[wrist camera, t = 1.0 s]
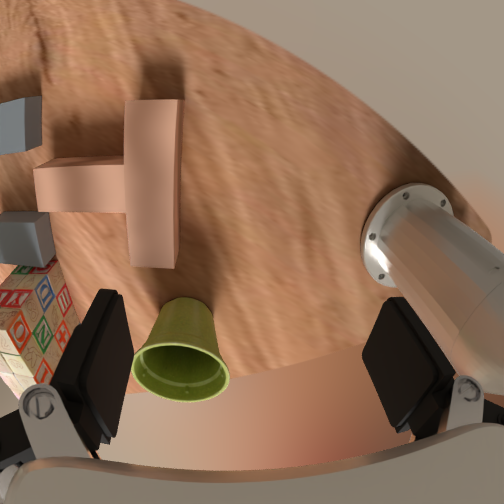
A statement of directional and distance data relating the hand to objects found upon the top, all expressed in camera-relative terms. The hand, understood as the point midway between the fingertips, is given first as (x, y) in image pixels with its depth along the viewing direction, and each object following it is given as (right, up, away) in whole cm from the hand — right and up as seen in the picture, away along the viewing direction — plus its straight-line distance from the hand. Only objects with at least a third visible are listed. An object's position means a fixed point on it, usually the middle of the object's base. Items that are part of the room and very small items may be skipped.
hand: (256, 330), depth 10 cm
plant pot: (-8, -5, +23) cm, 25 cm away
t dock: (-24, +10, +13) cm, 30 cm away
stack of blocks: (-25, -7, +23) cm, 35 cm away
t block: (-13, +10, +15) cm, 22 cm away
